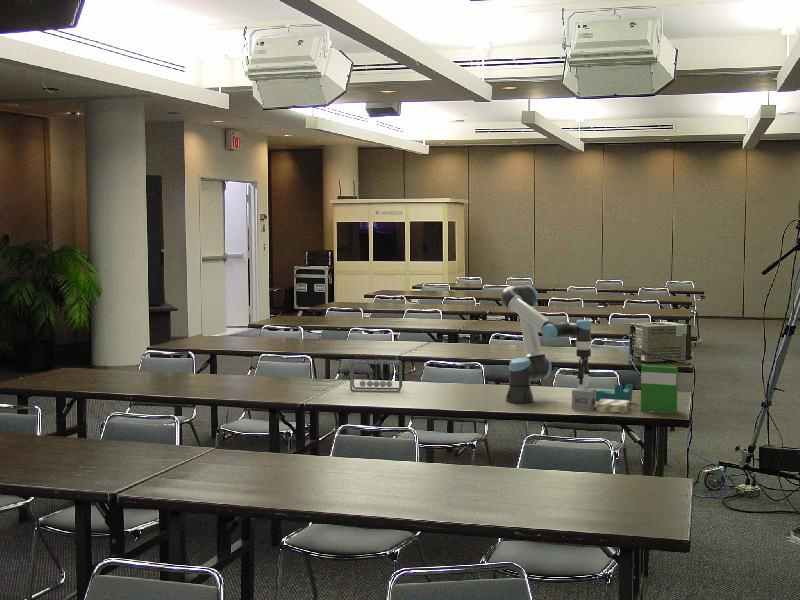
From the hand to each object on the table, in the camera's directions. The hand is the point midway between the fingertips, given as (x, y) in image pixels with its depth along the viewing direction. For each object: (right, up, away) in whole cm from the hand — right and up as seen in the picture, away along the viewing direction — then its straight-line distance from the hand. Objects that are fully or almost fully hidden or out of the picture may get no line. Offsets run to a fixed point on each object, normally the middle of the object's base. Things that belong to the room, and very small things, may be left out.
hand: (583, 388), depth 498 cm
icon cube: (0, -11, 0) cm, 11 cm away
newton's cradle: (-112, -7, +53) cm, 124 cm away
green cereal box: (+38, -11, -9) cm, 40 cm away
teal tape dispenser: (+19, -9, +18) cm, 28 cm away
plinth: (+15, -11, -5) cm, 19 cm away
